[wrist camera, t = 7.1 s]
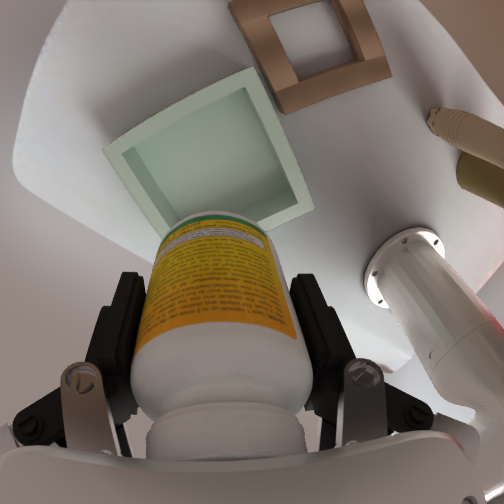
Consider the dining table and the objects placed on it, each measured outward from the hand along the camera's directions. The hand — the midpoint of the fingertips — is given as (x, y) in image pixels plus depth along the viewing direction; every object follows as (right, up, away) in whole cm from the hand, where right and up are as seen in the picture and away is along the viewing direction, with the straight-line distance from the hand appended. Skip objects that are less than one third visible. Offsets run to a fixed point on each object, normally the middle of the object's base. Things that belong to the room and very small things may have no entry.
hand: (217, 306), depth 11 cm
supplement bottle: (0, +2, +3) cm, 3 cm away
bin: (-2, +10, +16) cm, 19 cm away
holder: (+6, +21, +10) cm, 24 cm away
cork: (+29, +13, +19) cm, 37 cm away
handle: (+21, +17, +15) cm, 31 cm away
